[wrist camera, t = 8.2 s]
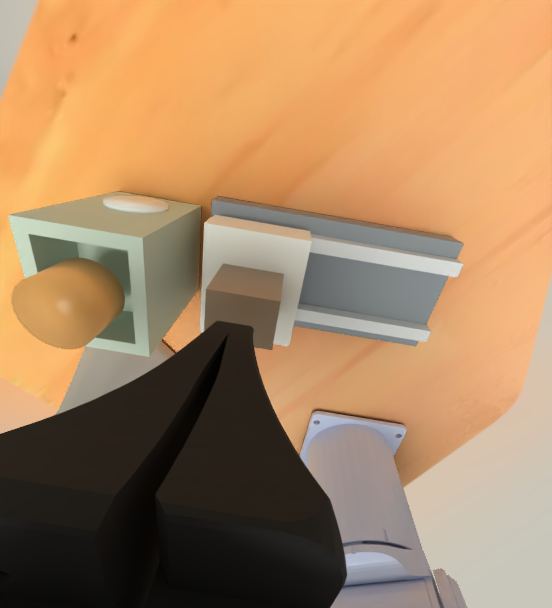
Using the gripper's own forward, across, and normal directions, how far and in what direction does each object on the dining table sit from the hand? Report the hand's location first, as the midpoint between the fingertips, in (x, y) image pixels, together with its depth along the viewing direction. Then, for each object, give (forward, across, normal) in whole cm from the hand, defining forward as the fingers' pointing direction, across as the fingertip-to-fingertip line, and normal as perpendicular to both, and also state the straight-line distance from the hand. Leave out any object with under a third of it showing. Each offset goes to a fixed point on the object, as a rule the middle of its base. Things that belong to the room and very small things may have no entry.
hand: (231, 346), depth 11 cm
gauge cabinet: (+9, +6, 0) cm, 11 cm away
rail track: (+9, -4, 0) cm, 10 cm away
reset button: (+2, +6, 0) cm, 7 cm away
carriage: (+7, 0, 0) cm, 7 cm away
